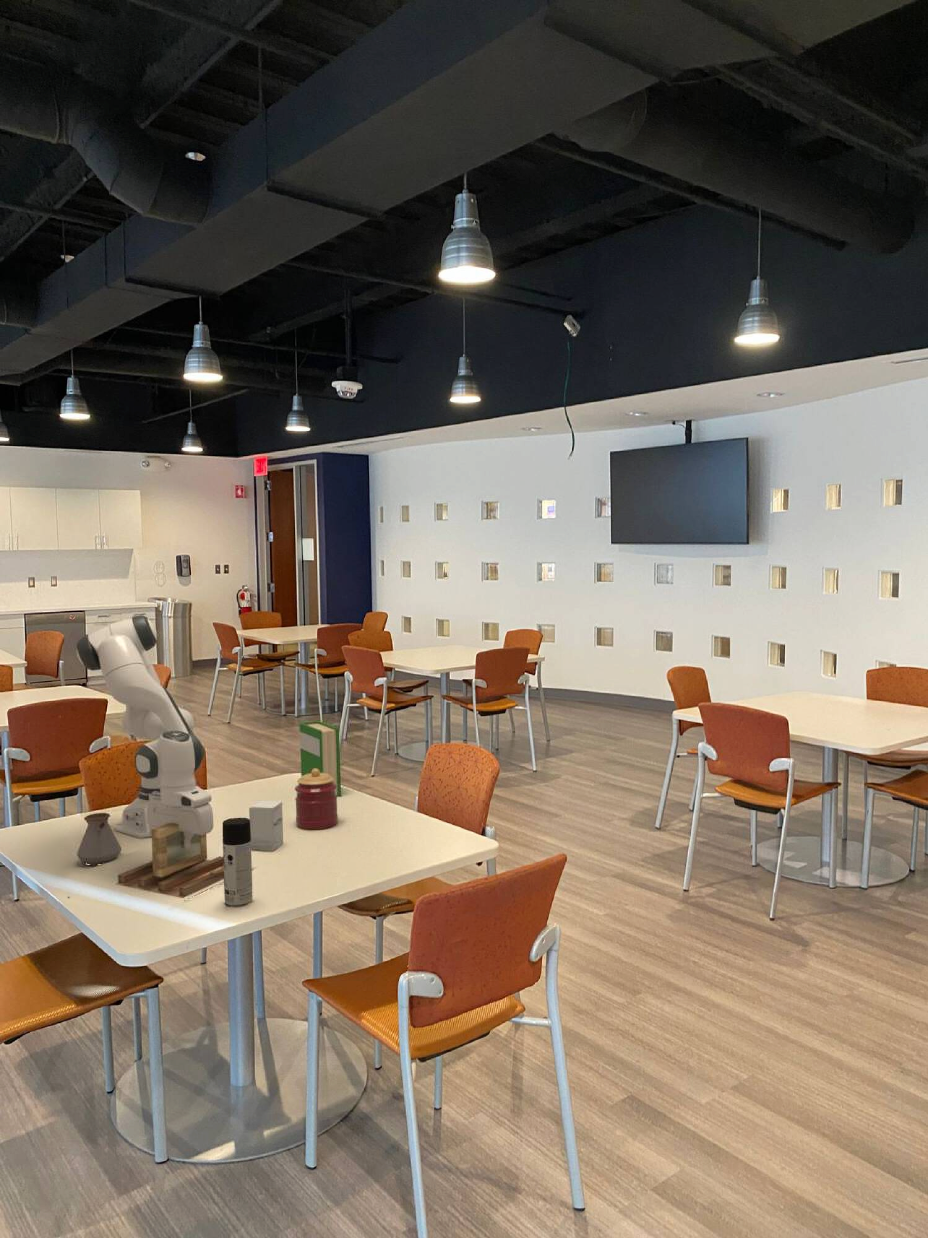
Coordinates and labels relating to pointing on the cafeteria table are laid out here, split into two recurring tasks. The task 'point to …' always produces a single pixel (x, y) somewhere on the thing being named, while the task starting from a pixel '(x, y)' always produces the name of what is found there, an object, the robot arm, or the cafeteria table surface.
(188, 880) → the slotted rack
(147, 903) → the cafeteria table surface
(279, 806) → the supplement box
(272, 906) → the cafeteria table surface
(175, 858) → the wooden picture frame
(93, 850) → the coffee pot
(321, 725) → the hardback book
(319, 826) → the canister
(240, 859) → the spray can
